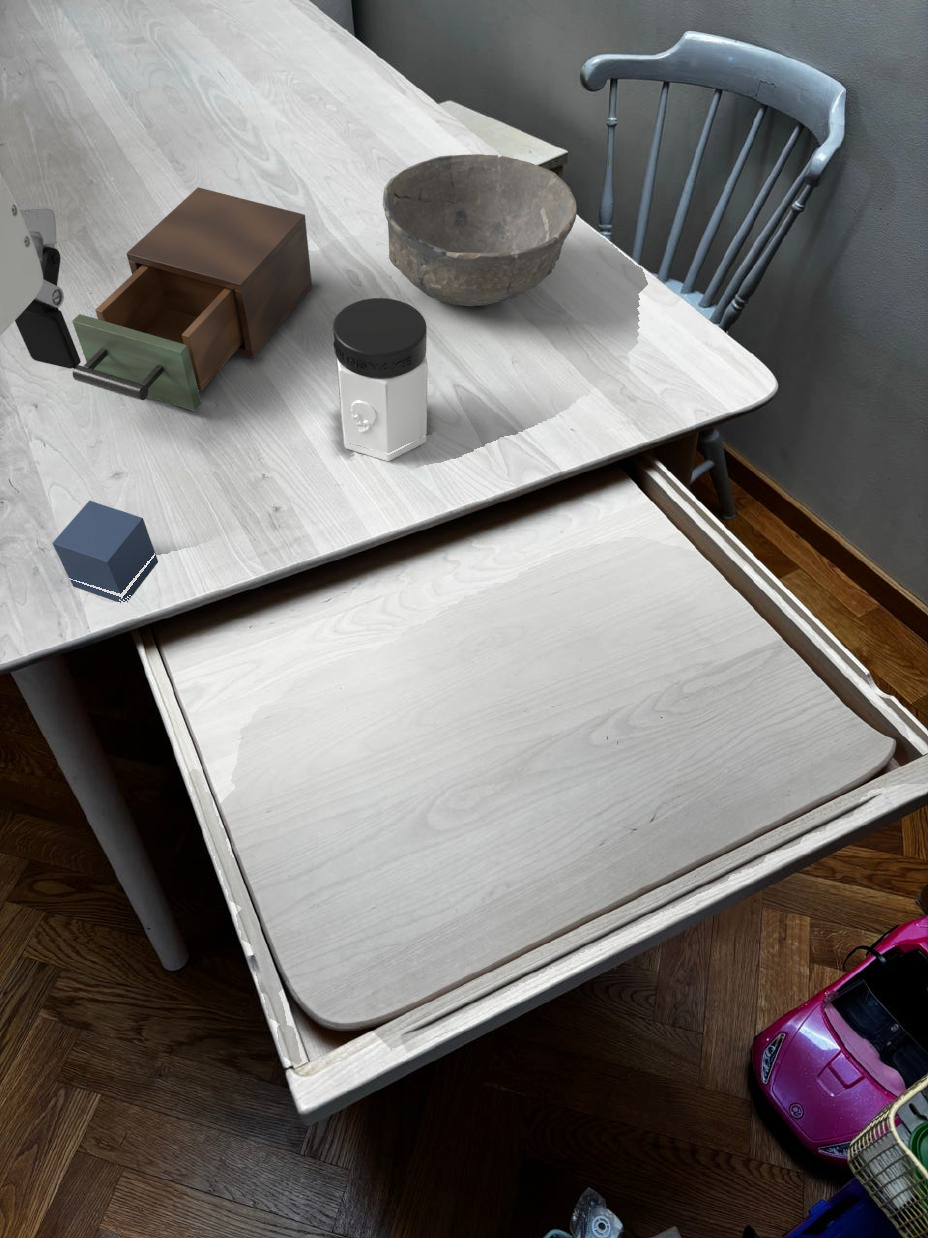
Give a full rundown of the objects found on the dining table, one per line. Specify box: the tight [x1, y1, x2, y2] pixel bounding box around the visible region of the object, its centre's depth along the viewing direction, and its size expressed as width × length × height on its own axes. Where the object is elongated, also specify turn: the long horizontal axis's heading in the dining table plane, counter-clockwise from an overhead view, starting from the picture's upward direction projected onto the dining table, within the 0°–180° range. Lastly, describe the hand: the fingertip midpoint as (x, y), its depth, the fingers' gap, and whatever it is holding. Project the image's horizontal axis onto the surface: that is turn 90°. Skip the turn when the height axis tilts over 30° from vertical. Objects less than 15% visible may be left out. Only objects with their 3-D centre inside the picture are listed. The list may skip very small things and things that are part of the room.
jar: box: [332, 297, 429, 462], centre depth 83 cm, size 9×8×12 cm
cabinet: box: [126, 187, 313, 359], centre depth 95 cm, size 14×13×9 cm
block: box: [52, 500, 159, 604], centre depth 74 cm, size 5×5×6 cm
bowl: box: [381, 153, 578, 307], centre depth 99 cm, size 21×21×10 cm
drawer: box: [71, 265, 244, 412], centre depth 88 cm, size 17×11×7 cm
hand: (13, 411), depth 55 cm, fingers open, 9 cm apart
